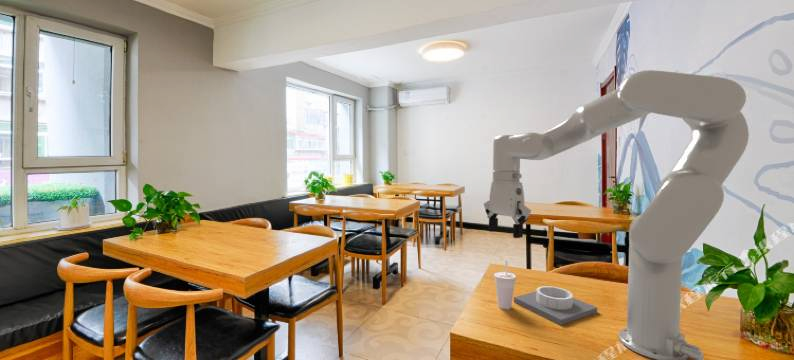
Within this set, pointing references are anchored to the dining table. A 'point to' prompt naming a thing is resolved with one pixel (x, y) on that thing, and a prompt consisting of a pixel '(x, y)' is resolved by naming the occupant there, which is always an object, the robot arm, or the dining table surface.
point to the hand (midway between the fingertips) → (505, 234)
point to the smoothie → (504, 288)
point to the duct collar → (555, 304)
